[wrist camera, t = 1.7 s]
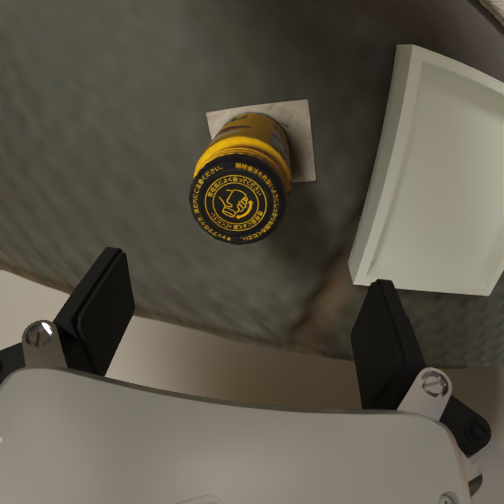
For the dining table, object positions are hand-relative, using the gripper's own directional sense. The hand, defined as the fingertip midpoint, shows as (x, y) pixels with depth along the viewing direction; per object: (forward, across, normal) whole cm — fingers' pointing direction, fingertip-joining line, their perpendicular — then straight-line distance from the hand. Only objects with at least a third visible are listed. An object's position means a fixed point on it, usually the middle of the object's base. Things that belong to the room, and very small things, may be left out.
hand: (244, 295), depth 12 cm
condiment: (+18, 0, -1) cm, 18 cm away
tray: (+18, -19, -1) cm, 26 cm away
